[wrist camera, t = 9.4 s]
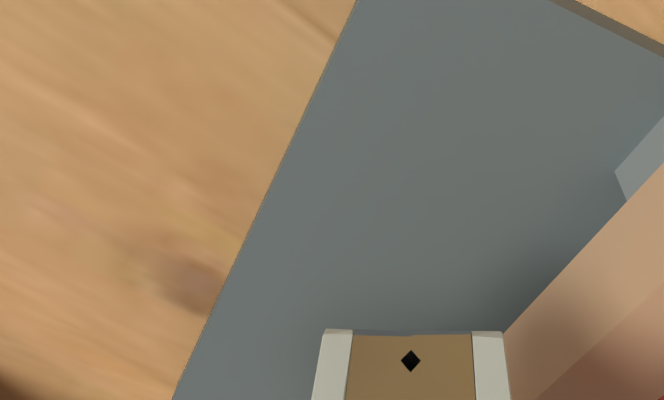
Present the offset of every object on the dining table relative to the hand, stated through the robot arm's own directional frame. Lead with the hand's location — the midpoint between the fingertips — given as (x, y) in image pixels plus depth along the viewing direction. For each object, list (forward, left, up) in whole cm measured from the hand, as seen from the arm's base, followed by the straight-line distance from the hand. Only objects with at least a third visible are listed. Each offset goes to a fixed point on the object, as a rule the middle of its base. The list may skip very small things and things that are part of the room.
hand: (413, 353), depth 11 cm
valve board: (+5, +4, -8) cm, 11 cm away
